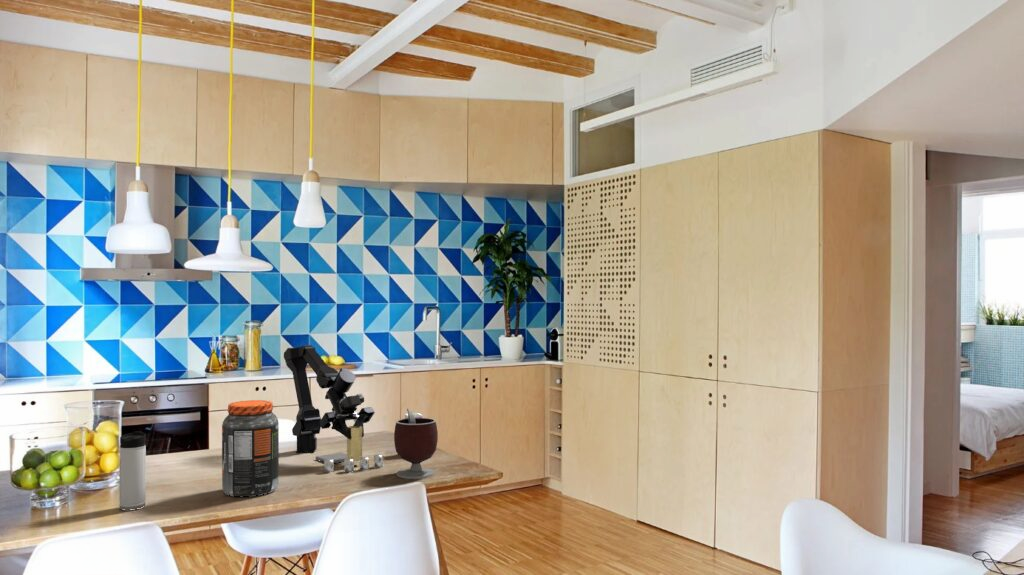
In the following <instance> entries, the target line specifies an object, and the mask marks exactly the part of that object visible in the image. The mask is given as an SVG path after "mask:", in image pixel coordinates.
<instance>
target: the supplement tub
mask: <svg viewBox="0 0 1024 575" xmlns="http://www.w3.org/2000/svg"><path fill="white" fill-rule="evenodd" d="M273 409H274V404H273V402H272V401H270V400H262V399H257V400H256V399H254V400H253V399H252V400H239V401H235V402H230V403H228V407H227V412H228V415H227V416H225V418H224V420H223V421H222V424H221V476H222V477H221V479H222V480H221V481H222V482H221V483H222V484H221V488H222V492H223V493H224V494H225V495H227V496H229V495H230V497H234V496H240V497H239V498H244V497H243V496H249V497H256V495H258V496H264V495H267V493H268V494H271V493H272V492H274V491H276V490H277V488H278V487H279V481H280V480H279V475H280V474H279V472H280V470H279V460H280V459H279V458H280V457H279V456H280V454H279V450H280V448H279V447H280V446H279V444H280V443H279V438H280V437H279V435H280V434H279V433H280V432H279V430H280V429H279V428H280V427H279V420H278V417H277V415H276V414H275V413H274V412H273ZM263 494H264V495H263Z"/></svg>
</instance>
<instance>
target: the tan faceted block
mask: <svg viewBox="0 0 1024 575" xmlns="http://www.w3.org/2000/svg"><path fill="white" fill-rule="evenodd" d="M347 427H348V429H349V431H350V434H351V437H352V438H351V439H348V438H347V437H346V454H347V459H348V458H352V459H354V462H360V457H363V437H362V426H353V425H349V426H347Z"/></svg>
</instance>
